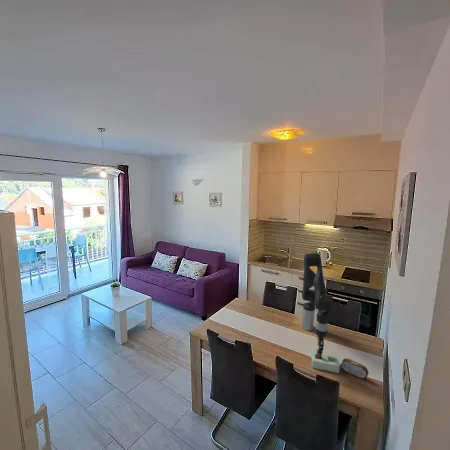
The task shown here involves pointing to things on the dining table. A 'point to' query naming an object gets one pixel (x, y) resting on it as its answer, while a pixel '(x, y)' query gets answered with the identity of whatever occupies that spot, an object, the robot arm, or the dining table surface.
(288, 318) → the dining table surface
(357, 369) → the tin
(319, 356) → the peg
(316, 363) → the hole block
